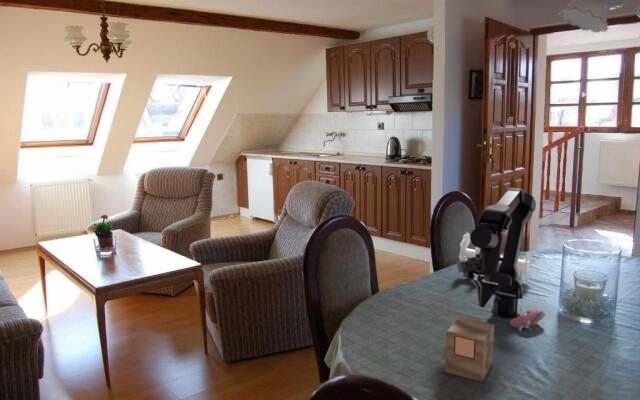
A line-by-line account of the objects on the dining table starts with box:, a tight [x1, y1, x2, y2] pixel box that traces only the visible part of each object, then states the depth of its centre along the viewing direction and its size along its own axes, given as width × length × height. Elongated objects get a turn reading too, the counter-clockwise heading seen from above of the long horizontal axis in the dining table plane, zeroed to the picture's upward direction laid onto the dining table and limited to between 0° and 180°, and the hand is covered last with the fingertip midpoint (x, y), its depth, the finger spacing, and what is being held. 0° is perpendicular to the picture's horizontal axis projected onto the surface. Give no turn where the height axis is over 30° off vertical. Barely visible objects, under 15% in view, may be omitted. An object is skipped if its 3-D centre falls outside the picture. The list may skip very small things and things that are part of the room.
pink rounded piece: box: [509, 308, 546, 329], centre depth 149 cm, size 10×5×7 cm, turn 119°
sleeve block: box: [444, 316, 495, 383], centre depth 125 cm, size 10×9×11 cm
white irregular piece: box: [458, 231, 533, 284], centre depth 188 cm, size 18×18×25 cm
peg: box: [455, 336, 476, 358], centre depth 124 cm, size 10×4×4 cm, turn 147°
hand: (481, 307), depth 139 cm, fingers closed
